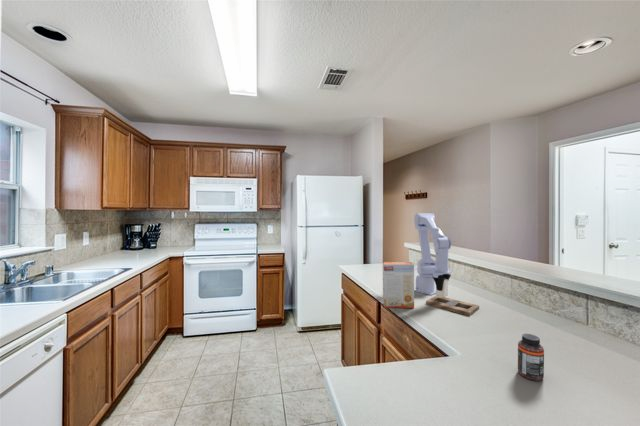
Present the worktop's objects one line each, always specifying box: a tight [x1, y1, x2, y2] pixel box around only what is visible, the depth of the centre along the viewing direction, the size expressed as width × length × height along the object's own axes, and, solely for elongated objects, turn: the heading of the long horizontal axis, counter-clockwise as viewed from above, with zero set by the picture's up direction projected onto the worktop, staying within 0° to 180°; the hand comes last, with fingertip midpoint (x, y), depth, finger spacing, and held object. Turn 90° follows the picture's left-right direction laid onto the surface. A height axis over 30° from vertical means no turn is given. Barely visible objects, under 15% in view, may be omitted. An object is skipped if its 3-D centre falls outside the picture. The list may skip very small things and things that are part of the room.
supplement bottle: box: [517, 333, 545, 382], centre depth 79 cm, size 6×6×11 cm
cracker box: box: [382, 261, 415, 309], centre depth 133 cm, size 14×6×21 cm, turn 84°
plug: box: [435, 279, 449, 298], centre depth 135 cm, size 4×4×8 cm
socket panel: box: [425, 295, 480, 317], centre depth 132 cm, size 20×12×2 cm, turn 43°
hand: (441, 289), depth 135 cm, fingers closed on plug, 4 cm apart
